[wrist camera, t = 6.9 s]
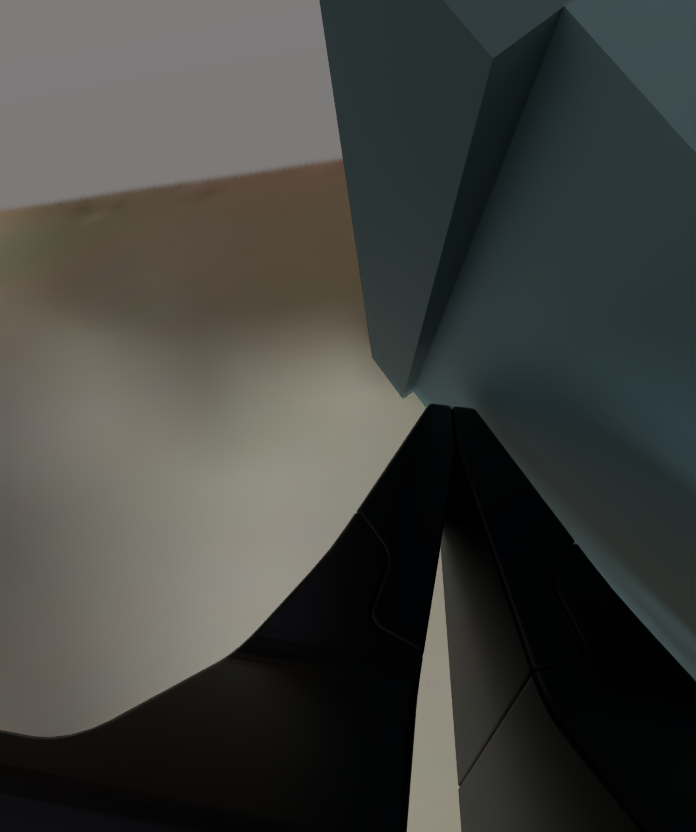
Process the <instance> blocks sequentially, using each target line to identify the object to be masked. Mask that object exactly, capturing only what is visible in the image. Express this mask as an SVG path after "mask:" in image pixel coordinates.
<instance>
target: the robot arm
mask: <svg viewBox="0 0 696 832" xmlns="http://www.w3.org/2000/svg"><path fill="white" fill-rule="evenodd" d="M574 542H575V541H574V539H573V538H572V536H571V535H570V534H569V532H568V531H567V530H566V528H565V527H564V526H563V524H562V523H561V522H560V520H559V519H558V518H557V516H556V515H555V514H554V512H553V511H552V510H551V509H550V507H549V506H548V505H547V503H546V502H545V501H544V499H543V498H542V497H541V495H540V494H539V493H538V491H537V490H536V489H535V487H534V486H533V485H532V483H531V482H530V481H529V479H528V478H527V477H526V475H525V474H524V473H523V471H522V470H521V469H520V468H519V466H518V465H517V464H516V462H515V461H514V460H513V458H512V457H511V456H510V454H509V453H508V452H507V450H506V449H505V448H504V446H503V445H502V444H501V442H500V441H499V440H498V438H497V437H496V436H495V434H494V433H493V432H492V431H491V429H490V428H489V427H488V425H487V424H486V423H485V421H484V420H483V419H482V417H481V416H480V415H479V413H478V412H477V411H476V410H475V409H473V408H467V407H458V406H454V407H453V408H451V407H450V406H448V405H441V404H433V403H432V404H429V405H428V406H427V408H426V409H425V411H424V412H423V414H422V415H421V417H420V418H419V419H418V421H417V422H416V424H415V425H414V427H413V428H412V430H411V431H410V433H409V434H408V436H407V437H406V439H405V440H404V442H403V443H402V445H401V446H400V448H399V449H398V451H397V452H396V454H395V455H394V457H393V458H392V460H391V461H390V463H389V464H388V466H387V467H386V469H385V470H384V472H383V473H382V474H381V476H380V477H379V479H378V480H377V482H376V483H375V485H374V486H373V488H372V489H371V491H370V492H369V494H368V495H367V497H366V498H365V500H364V501H363V503H362V504H361V506H360V507H359V509H358V510H357V513H356V514H354V516H353V517H352V519H351V520H350V522H349V523H348V525H347V526H346V528H345V529H344V530H343V532H342V533H341V534H340V536H339V537H338V538H337V540H336V541H335V543H334V544H333V545H332V547H331V548H330V549H329V551H328V552H327V553H326V554H325V555H324V556H323V558H322V559H321V560H320V561H319V562H318V563H317V565H316V566H315V567H314V568H313V569H312V570H311V572H310V573H309V574H308V575H307V576H306V577H305V578H304V579H303V580H302V581H301V583H300V584H299V585H298V586H297V587H296V588H295V589H294V590H293V591H292V592H291V593H290V595H289V596H288V597H287V598H286V599H285V600H284V601H283V602H282V603H281V604H280V605H279V607H278V608H277V609H276V610H275V611H274V612H273V613H272V614H271V615H270V616H269V617H268V619H267V620H266V621H265V622H264V623H263V624H262V625H261V626H260V627H259V628H258V629H257V630H256V631H255V632H254V633H253V634H252V636H251V637H249V638H248V639H247V640H246V641H245V642H244V643H243V644H242V645H241V646H240V647H238V648H237V649H236V650H235V651H233V652H232V653H231V654H229V655H228V656H226V657H225V658H224V659H222V660H220V661H219V662H217V663H215V664H213V665H211V666H209V667H208V668H206V669H204V670H202V671H200V672H198V673H197V674H195V675H193V676H191V677H189V678H187V679H185V680H184V681H182V682H180V683H178V684H176V685H174V686H173V687H171V688H169V689H167V690H165V691H163V692H162V693H160V694H158V695H156V696H154V697H152V698H150V699H149V700H147V701H145V702H143V703H141V704H139V705H138V706H136V707H134V708H132V709H130V710H128V711H127V712H125V713H123V714H121V715H119V716H117V717H115V718H114V719H112V720H110V721H108V722H105V723H103V724H101V725H99V726H97V727H94V728H92V729H89V730H85V731H82V732H78V733H75V734H72V735H65V736H57V737H35V736H28V735H23V734H18V733H13V732H7V731H2V730H0V832H407V820H408V808H409V795H410V782H411V769H412V756H413V744H414V731H415V718H416V706H417V695H418V688H419V680H420V673H421V666H422V660H423V657H422V656H423V653H424V647H425V641H426V634H427V628H428V622H429V616H430V609H431V603H432V597H433V590H434V584H435V578H436V571H437V565H438V559H439V553H440V546H441V557H442V570H443V584H444V598H445V611H446V625H447V639H448V652H449V666H450V680H451V693H452V707H453V720H454V734H455V748H456V761H457V775H458V785H459V786H460V788H459V804H460V818H461V831H462V832H696V681H695V680H694V679H693V678H692V676H691V675H690V674H689V673H688V672H687V671H686V670H685V669H684V668H683V667H682V665H681V664H680V663H679V662H678V661H677V660H676V659H675V658H674V657H673V656H672V655H671V653H670V652H669V651H668V650H667V649H666V648H665V647H664V646H663V645H662V644H661V643H660V641H659V640H658V639H657V638H656V637H655V636H654V635H653V634H652V633H651V632H650V631H649V629H648V628H647V627H646V626H645V625H644V624H643V623H642V622H641V621H640V620H639V618H638V617H637V616H636V615H635V614H634V613H633V612H632V610H631V609H630V608H629V607H628V606H627V605H626V604H625V602H624V601H623V600H622V599H621V598H620V597H619V596H618V594H617V593H616V592H615V591H614V590H613V589H612V587H611V586H610V585H609V584H608V582H607V581H606V580H605V579H604V577H603V576H602V575H601V574H600V572H599V571H598V570H597V569H596V567H595V566H594V565H593V564H592V562H591V561H590V560H589V558H588V557H587V556H586V554H585V553H584V552H583V550H582V549H581V548H580V547H579V545H578V544H574Z"/></svg>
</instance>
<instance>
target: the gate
mask: <svg viewBox="0 0 696 832" xmlns="http://www.w3.org/2000/svg"><path fill="white" fill-rule="evenodd" d="M320 6H321V13H322V20H323V27H324V33H325V40H326V47H327V53H328V60H329V67H330V73H331V80H332V87H333V94H334V101H335V108H336V114H337V121H338V128H339V135H340V142H341V148H342V155H343V162H344V169H345V175H346V182H347V189H348V196H349V202H350V209H351V216H352V223H353V230H354V236H355V243H356V250H357V257H358V263H359V270H360V277H361V284H362V290H363V297H364V304H365V311H366V317H367V324H368V331H369V338H370V345H371V351H372V358H373V359H374V360H375V362H376V363H377V365H378V366H379V367H380V369H381V370H382V371H383V373H384V374H385V375H386V377H387V378H388V379H389V381H390V382H391V383H392V385H393V386H394V387H395V389H396V390H397V391H398V393H399V394H400V395H401V397H402V398H405V397H406V396H407V395H409V394H410V393H412V392H413V391H414V392H415V394H416V395H417V396H418V398H419V399H420V401H421V402H422V403H423V405H424V406H425V407H426V408H427V406H428V405H429V404H432V403H433V404H441V405H448V406H450V407H451V408H453V407H454V406H458V407H467V408H473V409H475V410H476V411H477V412H478V413H479V415H480V416H481V417H482V419H483V420H484V421H485V423H486V424H487V425H488V427H489V428H490V429H491V431H492V432H493V433H494V434H495V436H496V437H497V438H498V440H499V441H500V442H501V444H502V445H503V446H504V448H505V449H506V450H507V452H508V453H509V454H510V456H511V457H512V458H513V460H514V461H515V462H516V464H517V465H518V466H519V468H520V469H521V470H522V471H523V473H524V474H525V475H526V477H527V478H528V479H529V481H530V482H531V483H532V485H533V486H534V487H535V489H536V490H537V491H538V493H539V494H540V495H541V497H542V498H543V499H544V501H545V502H546V503H547V505H548V506H549V507H550V509H551V510H552V511H553V512H554V514H555V515H556V516H557V518H558V519H559V520H560V522H561V523H562V524H563V526H564V527H565V528H566V530H567V531H568V532H569V534H570V535H571V536H572V538H573V539H574V541H575V542H574V544H578V545H579V547H580V548H581V549H582V550H583V552H584V553H585V554H586V556H587V557H588V558H589V560H590V561H591V562H592V564H593V565H594V566H595V567H596V569H597V570H598V571H599V572H600V574H601V575H602V576H603V577H604V579H605V580H606V581H607V582H608V584H609V585H610V586H611V587H612V589H613V590H614V591H615V592H616V593H617V594H618V596H619V597H620V598H621V599H622V600H623V601H624V602H625V604H626V605H627V606H628V607H629V608H630V609H631V610H632V612H633V613H634V614H635V615H636V616H637V617H638V618H639V620H640V621H641V622H642V623H643V624H644V625H645V626H646V627H647V628H648V629H649V631H650V632H651V633H652V634H653V635H654V636H655V637H656V638H657V639H658V640H659V641H660V643H661V644H662V645H663V646H664V647H665V648H666V649H667V650H668V651H669V652H670V653H671V655H672V656H673V657H674V658H675V659H676V660H677V661H678V662H679V663H680V664H681V665H682V667H683V668H684V669H685V670H686V671H687V672H688V673H689V674H690V675H691V676H692V678H693V679H694V680H695V681H696V0H320Z"/></svg>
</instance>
